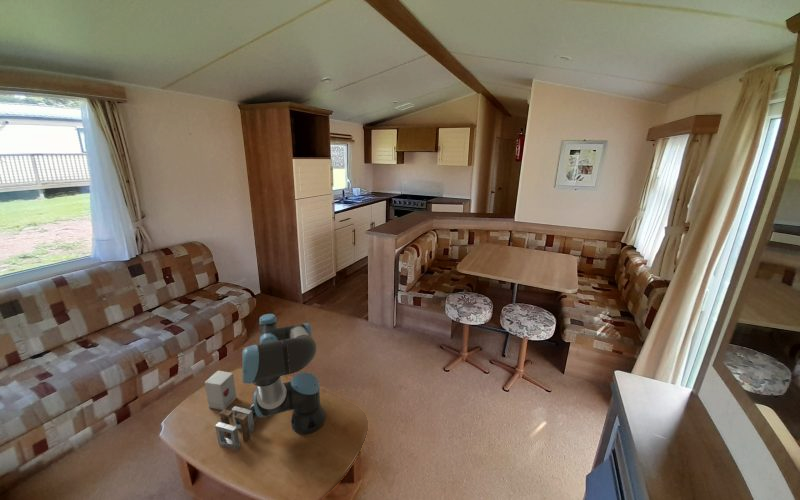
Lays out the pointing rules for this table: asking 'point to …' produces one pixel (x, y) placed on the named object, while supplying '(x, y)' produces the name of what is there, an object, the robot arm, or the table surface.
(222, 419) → the aperture bridge
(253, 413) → the tube
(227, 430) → the collar
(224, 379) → the supplement box
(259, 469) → the table surface
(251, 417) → the collar
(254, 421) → the rail
